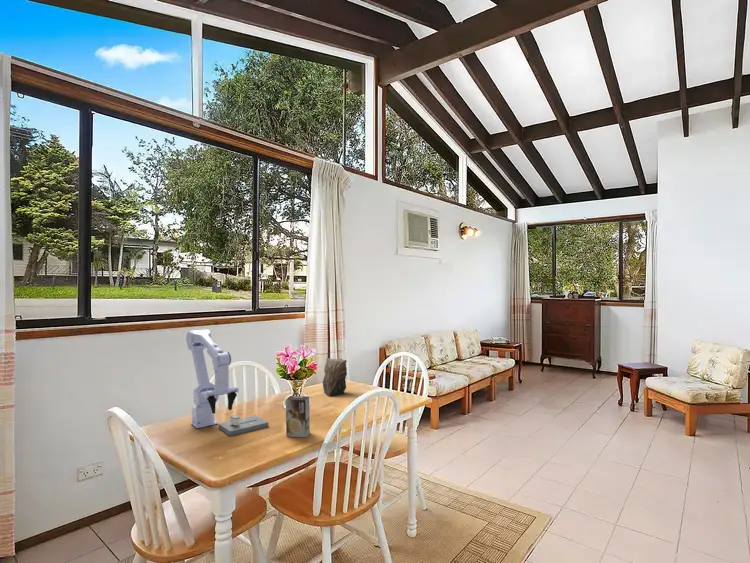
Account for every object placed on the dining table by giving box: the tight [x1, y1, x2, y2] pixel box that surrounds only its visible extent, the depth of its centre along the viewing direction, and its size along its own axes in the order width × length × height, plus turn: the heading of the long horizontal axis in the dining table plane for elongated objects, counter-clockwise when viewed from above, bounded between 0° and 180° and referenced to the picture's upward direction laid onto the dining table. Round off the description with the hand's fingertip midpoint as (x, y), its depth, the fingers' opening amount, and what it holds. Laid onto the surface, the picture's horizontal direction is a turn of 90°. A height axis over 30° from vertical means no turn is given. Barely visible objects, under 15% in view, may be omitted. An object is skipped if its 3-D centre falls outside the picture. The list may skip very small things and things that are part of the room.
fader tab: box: [229, 414, 241, 426], centre depth 194 cm, size 2×4×3 cm, turn 41°
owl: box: [322, 357, 348, 397], centre depth 255 cm, size 13×13×20 cm
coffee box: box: [285, 395, 311, 438], centre depth 188 cm, size 9×6×16 cm
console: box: [217, 414, 269, 437], centre depth 197 cm, size 18×13×2 cm
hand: (221, 411), depth 190 cm, fingers open, 7 cm apart
